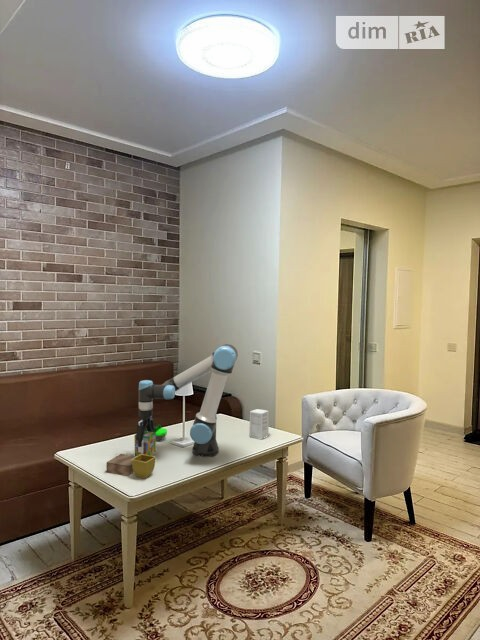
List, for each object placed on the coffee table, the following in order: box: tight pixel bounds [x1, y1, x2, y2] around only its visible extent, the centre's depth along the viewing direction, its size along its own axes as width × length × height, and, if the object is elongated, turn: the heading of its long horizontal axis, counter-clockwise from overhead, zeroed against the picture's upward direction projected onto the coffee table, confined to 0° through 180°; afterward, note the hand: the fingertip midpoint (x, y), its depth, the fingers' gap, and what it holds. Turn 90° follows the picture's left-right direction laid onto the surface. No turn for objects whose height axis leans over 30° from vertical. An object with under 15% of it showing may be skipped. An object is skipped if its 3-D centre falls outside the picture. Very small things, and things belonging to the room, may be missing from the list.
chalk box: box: [134, 428, 157, 456], centre depth 243 cm, size 9×9×15 cm
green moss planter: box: [154, 423, 168, 441], centre depth 274 cm, size 12×12×11 cm
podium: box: [105, 453, 137, 477], centre depth 226 cm, size 13×13×5 cm
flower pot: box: [132, 454, 157, 479], centre depth 218 cm, size 9×9×9 cm
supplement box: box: [248, 408, 270, 440], centre depth 286 cm, size 10×9×17 cm
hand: (145, 449), depth 243 cm, fingers closed on chalk box, 9 cm apart
